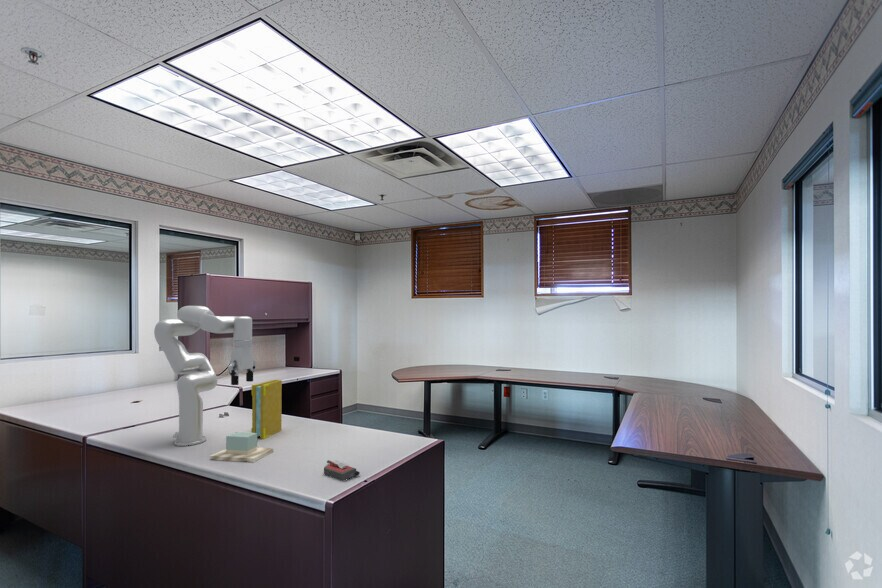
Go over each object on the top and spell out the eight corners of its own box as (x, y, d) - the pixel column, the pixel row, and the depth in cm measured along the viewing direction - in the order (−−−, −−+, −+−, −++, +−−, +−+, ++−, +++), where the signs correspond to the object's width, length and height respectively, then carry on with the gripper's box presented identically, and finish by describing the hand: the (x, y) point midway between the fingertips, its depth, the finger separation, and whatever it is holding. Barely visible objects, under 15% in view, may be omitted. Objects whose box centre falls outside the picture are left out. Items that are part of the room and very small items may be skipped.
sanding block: (226, 453, 170) (226, 436, 170) (236, 448, 176) (236, 432, 176) (247, 454, 168) (247, 437, 168) (257, 450, 174) (257, 433, 174)
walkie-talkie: (364, 475, 149) (329, 464, 161) (364, 462, 149) (329, 452, 161) (345, 483, 142) (310, 470, 154) (344, 470, 142) (310, 458, 154)
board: (209, 459, 167) (209, 455, 168) (232, 449, 180) (232, 445, 180) (253, 462, 163) (253, 458, 164) (273, 451, 176) (273, 448, 176)
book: (263, 439, 195) (264, 385, 196) (251, 438, 196) (251, 385, 198) (284, 429, 212) (284, 379, 213) (272, 428, 213) (272, 379, 214)
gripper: (248, 343, 194) (247, 380, 193) (221, 345, 177) (220, 386, 176) (262, 343, 192) (262, 380, 191) (236, 345, 175) (236, 386, 174)
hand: (242, 383), depth 183 cm, fingers open, 9 cm apart
